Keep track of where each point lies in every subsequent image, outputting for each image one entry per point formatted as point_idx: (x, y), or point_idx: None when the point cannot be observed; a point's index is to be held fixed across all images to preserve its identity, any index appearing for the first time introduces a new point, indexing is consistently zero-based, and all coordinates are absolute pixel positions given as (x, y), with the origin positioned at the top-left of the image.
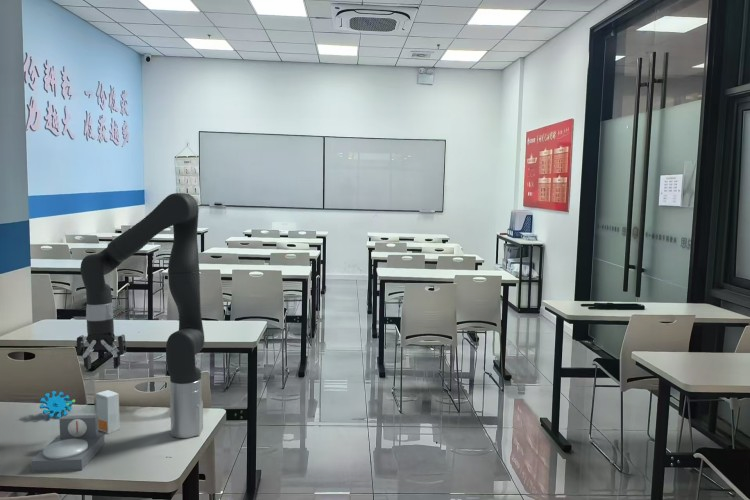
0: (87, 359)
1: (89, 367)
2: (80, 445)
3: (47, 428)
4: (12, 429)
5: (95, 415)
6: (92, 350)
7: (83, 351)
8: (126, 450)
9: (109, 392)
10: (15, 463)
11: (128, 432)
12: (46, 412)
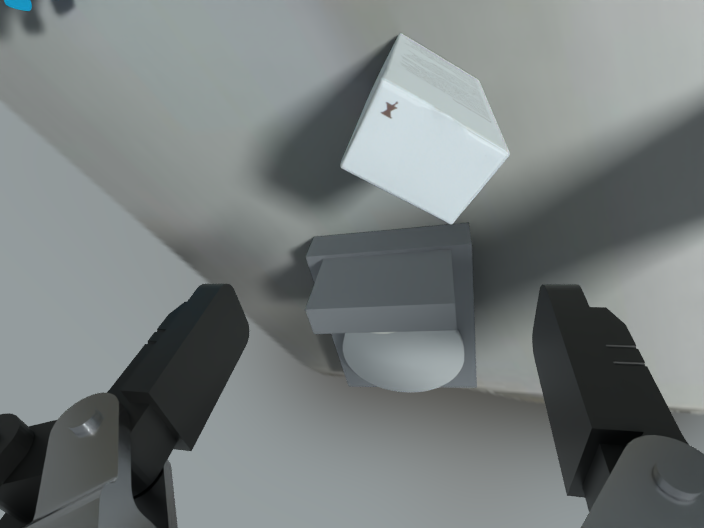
0: (200, 433)
1: (235, 317)
2: (441, 349)
3: (156, 101)
4: (47, 124)
5: (444, 308)
6: (131, 511)
7: (24, 487)
8: (571, 268)
9: (428, 141)
10: (283, 330)
11: (535, 110)
12: (29, 1)
